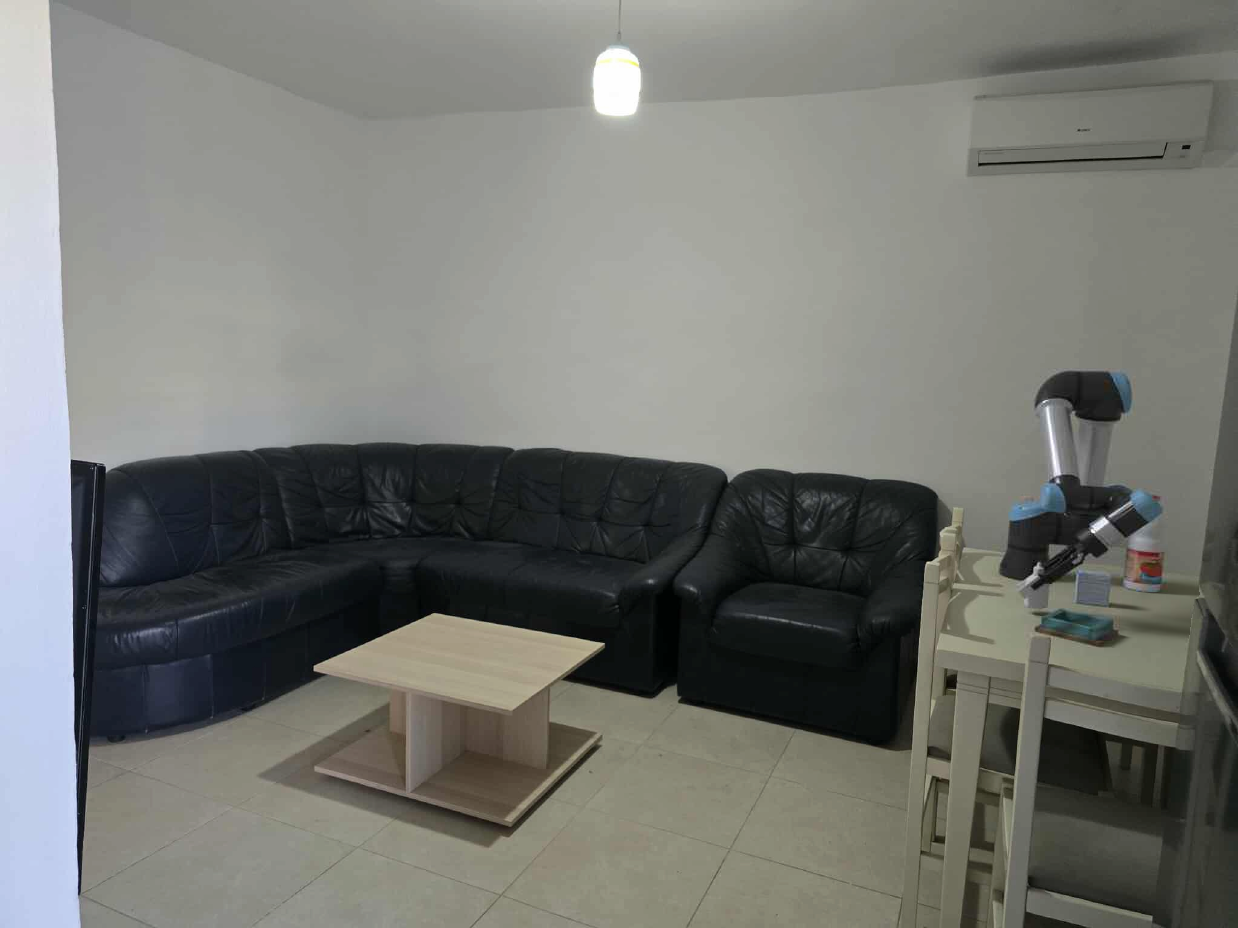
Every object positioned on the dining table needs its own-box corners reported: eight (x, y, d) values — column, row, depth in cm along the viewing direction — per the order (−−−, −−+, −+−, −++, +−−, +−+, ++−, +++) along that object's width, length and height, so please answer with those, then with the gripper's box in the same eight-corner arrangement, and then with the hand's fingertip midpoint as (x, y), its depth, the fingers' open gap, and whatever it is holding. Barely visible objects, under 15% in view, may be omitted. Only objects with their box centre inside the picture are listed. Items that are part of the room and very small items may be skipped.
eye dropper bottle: (1023, 602, 213) (1027, 559, 211) (1047, 606, 210) (1051, 561, 208) (1023, 607, 209) (1027, 563, 207) (1047, 610, 206) (1051, 565, 205)
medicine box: (1106, 603, 221) (1109, 572, 220) (1108, 607, 217) (1111, 576, 216) (1073, 599, 224) (1076, 569, 223) (1075, 603, 220) (1078, 572, 219)
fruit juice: (1136, 583, 243) (1145, 492, 240) (1167, 591, 235) (1177, 497, 232) (1115, 585, 240) (1124, 493, 237) (1146, 594, 231) (1156, 498, 228)
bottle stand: (1034, 630, 194) (1035, 617, 194) (1056, 620, 204) (1057, 606, 203) (1098, 646, 184) (1099, 631, 184) (1118, 634, 193) (1119, 620, 193)
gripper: (1115, 556, 193) (1033, 612, 202) (1104, 542, 209) (1028, 595, 217) (1092, 532, 195) (1011, 589, 203) (1083, 520, 210) (1008, 573, 219)
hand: (1020, 592), depth 210 cm, fingers closed on eye dropper bottle, 4 cm apart
